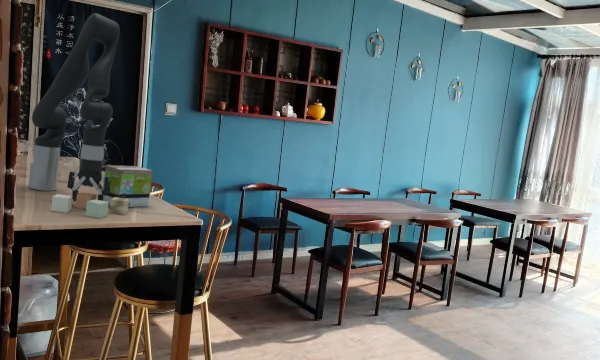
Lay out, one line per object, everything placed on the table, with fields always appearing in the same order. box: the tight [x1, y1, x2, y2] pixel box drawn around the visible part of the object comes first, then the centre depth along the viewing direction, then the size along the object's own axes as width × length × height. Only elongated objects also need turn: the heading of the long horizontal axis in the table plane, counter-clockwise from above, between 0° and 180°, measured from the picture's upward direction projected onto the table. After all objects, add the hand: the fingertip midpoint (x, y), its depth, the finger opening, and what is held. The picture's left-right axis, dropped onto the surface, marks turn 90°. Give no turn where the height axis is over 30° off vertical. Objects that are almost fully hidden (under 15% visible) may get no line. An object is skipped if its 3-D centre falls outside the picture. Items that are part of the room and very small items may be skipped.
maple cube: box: [109, 197, 129, 216], centre depth 185 cm, size 5×5×5 cm
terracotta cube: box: [75, 191, 98, 210], centre depth 185 cm, size 5×5×5 cm
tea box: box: [102, 164, 154, 208], centre depth 199 cm, size 15×10×15 cm, turn 148°
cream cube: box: [50, 193, 73, 214], centre depth 175 cm, size 5×5×5 cm
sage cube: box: [84, 199, 109, 219], centre depth 175 cm, size 5×5×5 cm
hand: (87, 202), depth 185 cm, fingers open, 8 cm apart
